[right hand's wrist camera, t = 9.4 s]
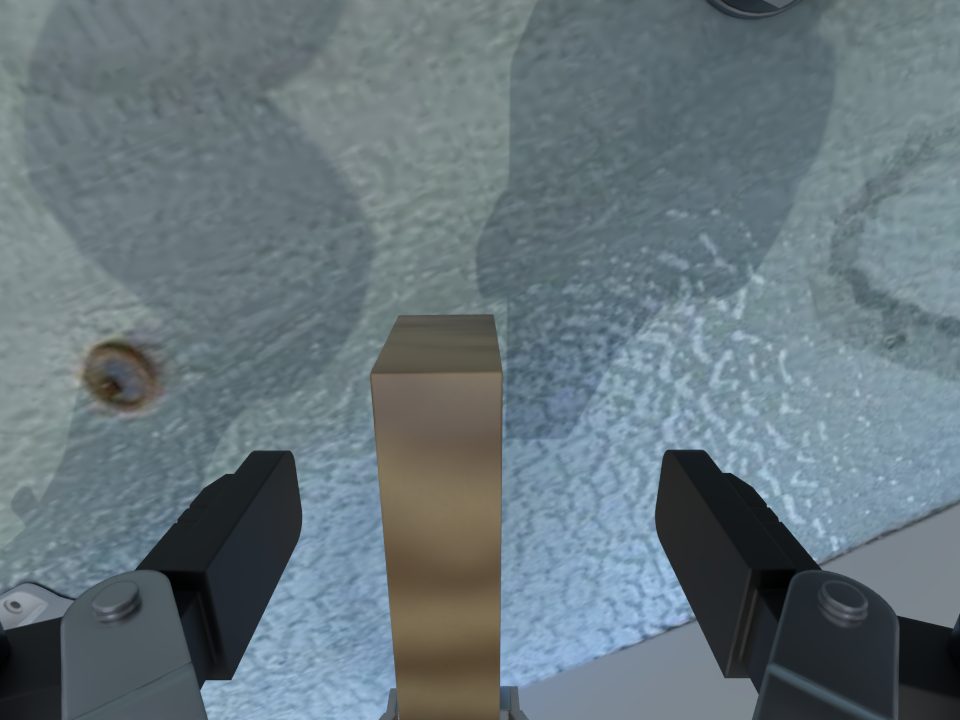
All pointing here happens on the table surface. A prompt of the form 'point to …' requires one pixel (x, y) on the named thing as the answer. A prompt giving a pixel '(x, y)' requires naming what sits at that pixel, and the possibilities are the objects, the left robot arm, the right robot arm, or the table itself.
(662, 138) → the table surface
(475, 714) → the bar
